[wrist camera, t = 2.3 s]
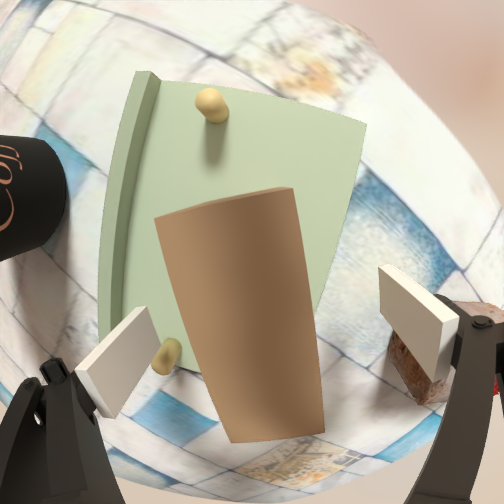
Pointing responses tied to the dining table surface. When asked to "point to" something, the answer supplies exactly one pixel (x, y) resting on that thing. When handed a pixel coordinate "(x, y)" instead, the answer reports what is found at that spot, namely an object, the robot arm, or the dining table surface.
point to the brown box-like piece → (248, 311)
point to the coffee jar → (28, 194)
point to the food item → (414, 372)
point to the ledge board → (213, 187)
